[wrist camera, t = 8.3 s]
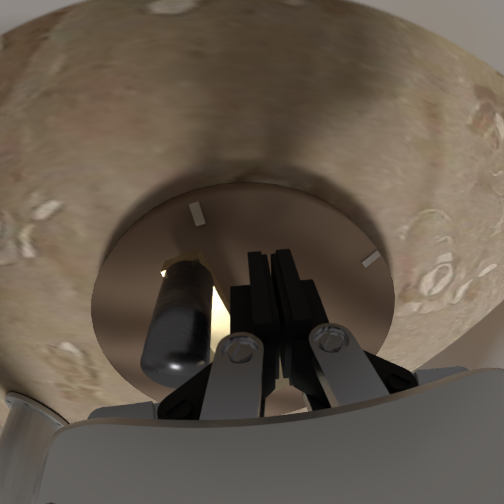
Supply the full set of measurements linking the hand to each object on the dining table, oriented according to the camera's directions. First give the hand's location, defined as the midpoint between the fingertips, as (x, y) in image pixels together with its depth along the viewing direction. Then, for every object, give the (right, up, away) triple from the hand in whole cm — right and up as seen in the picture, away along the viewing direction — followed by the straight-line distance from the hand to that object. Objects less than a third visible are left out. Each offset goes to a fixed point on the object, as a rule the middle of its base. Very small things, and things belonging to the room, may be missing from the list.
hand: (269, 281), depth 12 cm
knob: (-2, -3, +6) cm, 7 cm away
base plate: (-1, -5, +10) cm, 11 cm away
